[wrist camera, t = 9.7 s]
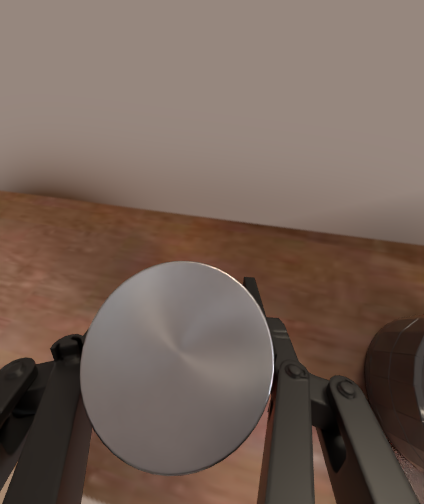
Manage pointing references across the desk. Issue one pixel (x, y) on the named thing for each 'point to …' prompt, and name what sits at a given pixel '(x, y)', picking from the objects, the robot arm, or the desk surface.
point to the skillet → (399, 385)
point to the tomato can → (176, 368)
